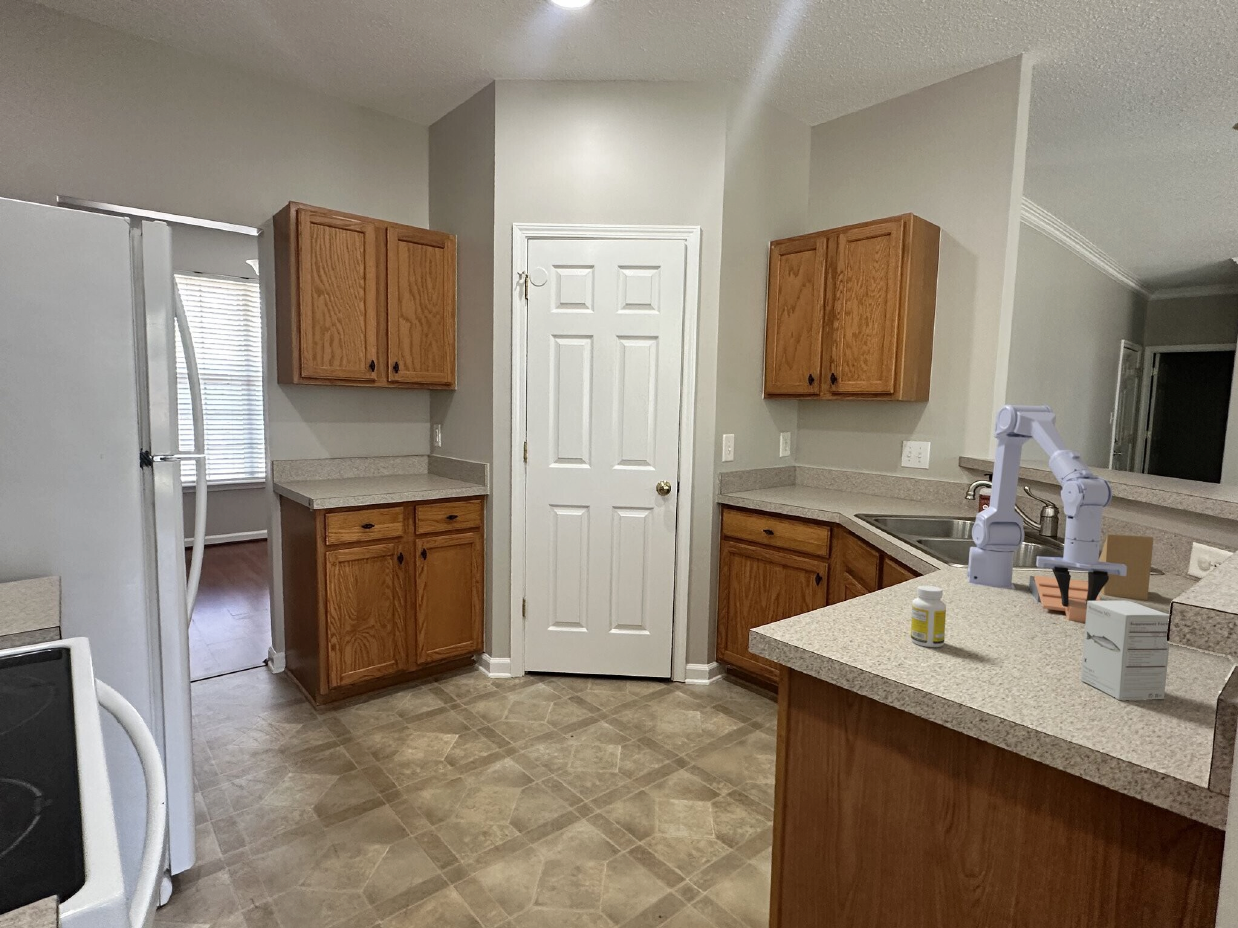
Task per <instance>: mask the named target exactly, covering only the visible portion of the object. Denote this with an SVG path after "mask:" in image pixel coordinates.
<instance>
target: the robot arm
mask: <svg viewBox="0 0 1238 928" xmlns="http://www.w3.org/2000/svg"><path fill="white" fill-rule="evenodd" d="M1056 420H1057V416H1056V414H1055V412H1053V409H1052V408H1051V407H1050V406H1049V405H1046V404H1045V405H1043V404H1042V405H1020V404H1018V405H1015V404H1014V405H1013V404H1005V405H1003V406H1002V407H1001V408H1000V409H999V410H998V411H997V412H996V416H995V423H994V433H993V437H994V438H996V446H995V454H994V464H993V471H992V472H993V473H992V481H991V490H990V498H989V506H988V507H987V508H985V509H984V510H982V511H980V512H978V513H976V514H975V515H976V516H975V521H974V524H973V526H972V529H971V537H972V540H973V542H974V544H975V545H976V546H970V547H969V554H968V555H969V556H968V568H967V571H966V577H967V580H968V583H969V585H978V586H985V587H986V586H987V587H993V588H994V587H995V588H1003V589H1012V590H1013V589H1014V590H1016V587H1015V585H1014V584H1013V571H1014V570H1013V569H1014V556H1015V551H1018V548H1019V547H1020V546H1022V544H1023V542H1024V540H1025V530H1024V518H1023V517H1022V516H1021V515H1020V514H1019V513H1018V512H1016V510H1015V508H1016V499H1017V493H1018V492H1017V491H1018V482H1019V475H1020V468H1021V467H1020V466H1021V457H1022V451H1023V450H1022V449H1023V445H1025V444H1026V443H1027V442H1028V441H1029V440H1032V439H1034V440H1035V442H1037V444H1038V445H1039V447H1041V449H1042V450H1043V451H1044V452H1045V453H1046V454H1047V455H1048V457H1049V460H1048V467H1049V469H1050V471H1051V473H1052V474H1053V475H1054V477H1055V478H1056V480H1057V482H1058V483H1059V484H1060V486H1061V487H1062V489H1061V490H1060V496H1061V497H1060V498H1061V501H1062V504H1063V512H1064V515H1066V521H1065V532H1064V533H1065V534H1064V543H1063V546H1064V547H1063V557H1057V556H1055V557H1054V556H1053V557H1052V556H1038V555H1037V556H1036V563H1035V565H1036V567H1037V568H1041V569H1044V568H1048V569H1051V570H1052V573H1053V575H1054V578H1056V580H1057V583H1058V585H1059V589H1060V593H1061V599H1062V605H1063V606H1064V607H1068V603H1069V584H1070V579H1071V577H1072V575H1071V573H1070V571H1077V572H1087V581H1088V593H1087V600H1086V604H1087V601H1096V598H1097V596H1099V594H1100V593H1101V592H1100V591H1101V590H1102V588H1103V587H1104V585H1105V584H1106V583H1107V582H1108V580H1109V576H1108V574H1115V575H1120V576H1126V572H1127V566H1125V565H1124V564H1115V563H1107V562H1100V561H1099V557H1100V550H1101V537H1102V536H1101V535H1102V525H1103V524H1102V523H1103V514H1104V513H1103V512H1104V508H1106V507H1107V506H1108V505H1109V504H1110V503H1111V501H1112V498H1113V491H1112V487H1111V485H1110V483H1109V480H1108V479H1106V478H1104V477H1099V476H1098V475H1095V474H1093V472H1092V471H1091V469H1090V467H1089V466H1088V465H1087V463H1086V462H1085V461H1084V460H1083V459H1084V458H1082V456H1081V454H1080V453H1079V451H1078V452H1077V451H1075V450H1071V449H1068V447H1067V445H1066V443H1065V442H1064V440H1063V438H1062V436H1061V435H1060V433H1059V432H1058V430H1057V428H1056V422H1057V421H1056Z"/></svg>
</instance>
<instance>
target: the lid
mask: <svg viewBox="0 0 1238 928" xmlns="http://www.w3.org/2000/svg"><path fill="white" fill-rule="evenodd" d="M1034 576H1035V578H1034V579H1035V582H1036V586H1037V589H1038V593H1039V596H1040V600H1041V602H1040V603H1041V606H1042V609H1044V610H1045V609H1046V610H1053V611H1054V610H1055V611H1062V612H1065V616H1066V618H1067V620H1068V621H1073V622H1074V621H1075V622H1080V623H1085V622H1086V611H1087V604H1086V600H1087V593H1088V580H1080V579H1079V580H1078V579H1071V578H1070V584H1069V603H1068V607H1064V606H1063V605H1062V599H1061V593H1060V589H1059V585H1058V583H1057V580H1056V577H1053V576H1052V577H1050V576H1043V575H1042V576H1041V575H1034ZM1096 601H1102V600H1101V598H1100V596H1099V595H1098V596H1097V598H1096Z"/></svg>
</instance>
